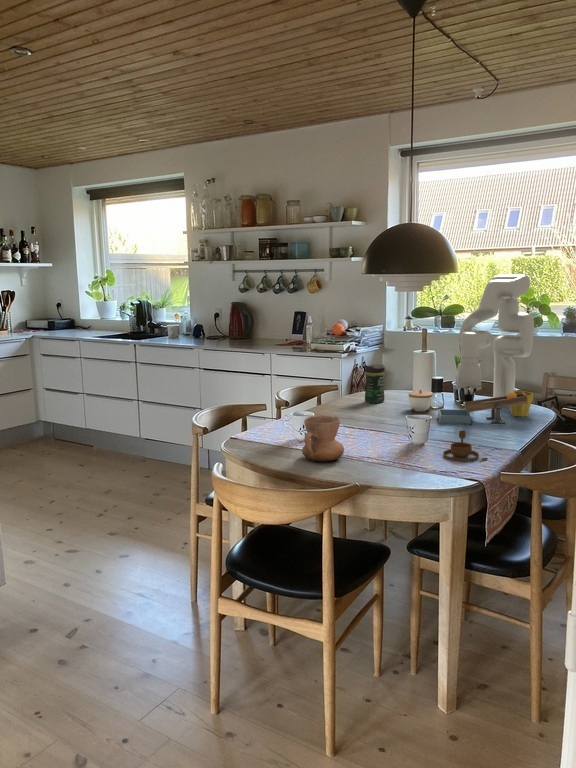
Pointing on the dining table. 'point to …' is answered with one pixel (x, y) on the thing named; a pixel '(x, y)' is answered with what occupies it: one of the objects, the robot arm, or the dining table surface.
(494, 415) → the pivot stand
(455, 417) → the grey square tray
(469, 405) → the chute
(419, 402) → the lidded jar
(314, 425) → the ceramic jug
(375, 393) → the coffee jar
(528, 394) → the plant pot
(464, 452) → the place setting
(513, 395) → the ball
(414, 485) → the dining table surface
